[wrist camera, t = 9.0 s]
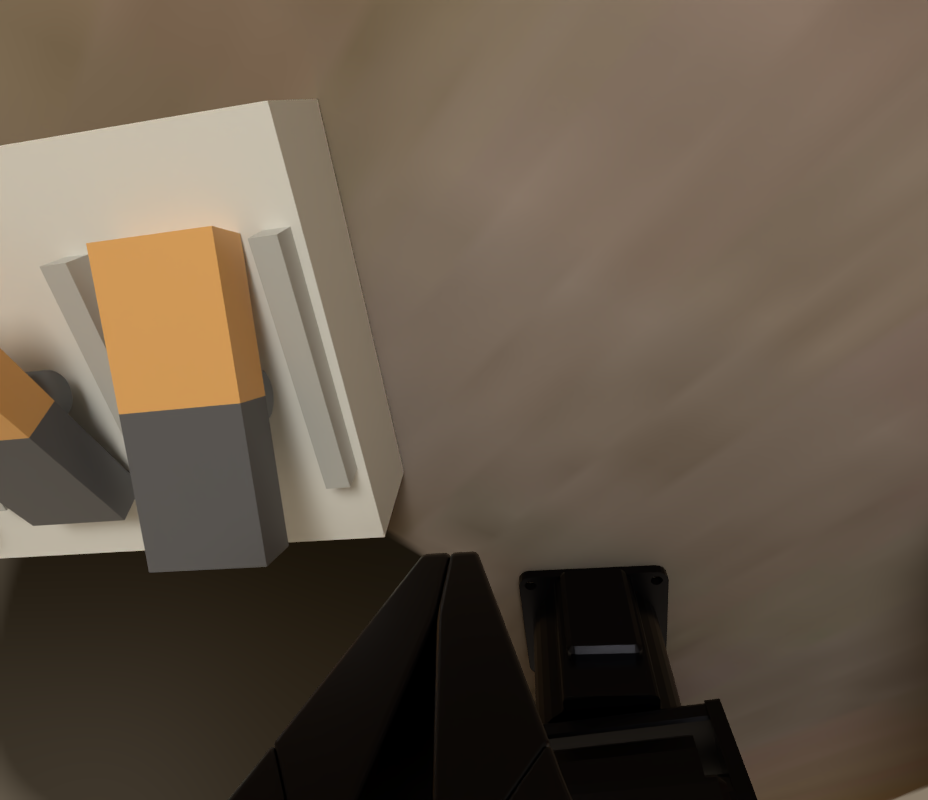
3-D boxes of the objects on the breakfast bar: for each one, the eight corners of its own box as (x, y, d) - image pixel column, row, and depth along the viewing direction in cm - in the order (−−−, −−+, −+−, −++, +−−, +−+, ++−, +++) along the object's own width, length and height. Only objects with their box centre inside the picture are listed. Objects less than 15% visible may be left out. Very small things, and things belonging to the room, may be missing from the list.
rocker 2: (302, 533, 18) (267, 566, 15) (198, 539, 18) (149, 572, 16) (257, 238, 17) (211, 225, 14) (147, 252, 17) (85, 243, 15)
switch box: (405, 477, 24) (380, 563, 20) (-8, 506, 27) (-111, 587, 22) (317, 99, 17) (250, 101, 13) (-219, 188, 20) (-422, 215, 16)
